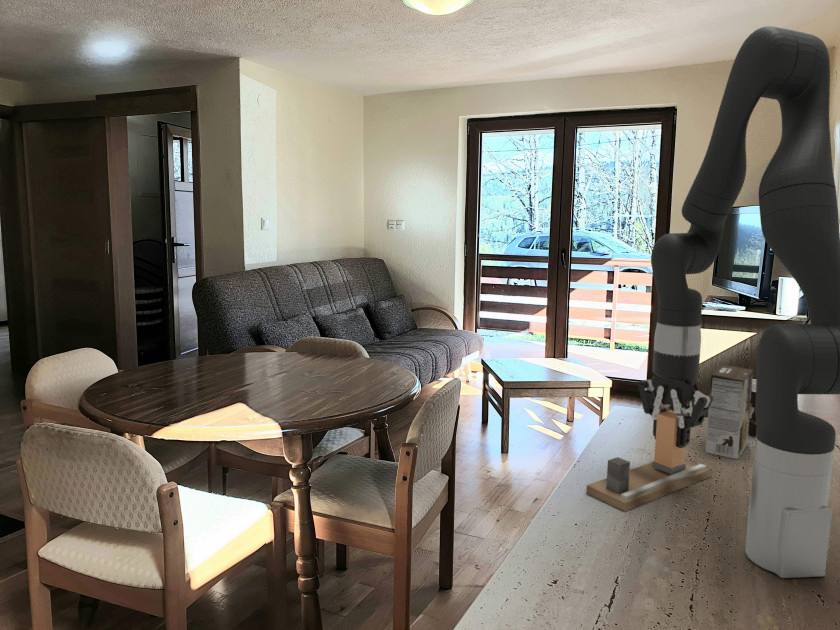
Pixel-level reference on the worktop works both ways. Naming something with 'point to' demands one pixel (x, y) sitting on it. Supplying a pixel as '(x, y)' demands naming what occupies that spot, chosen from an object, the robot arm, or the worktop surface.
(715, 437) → the coffee box
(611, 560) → the worktop surface
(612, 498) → the wooden slider board
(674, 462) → the block
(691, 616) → the worktop surface
